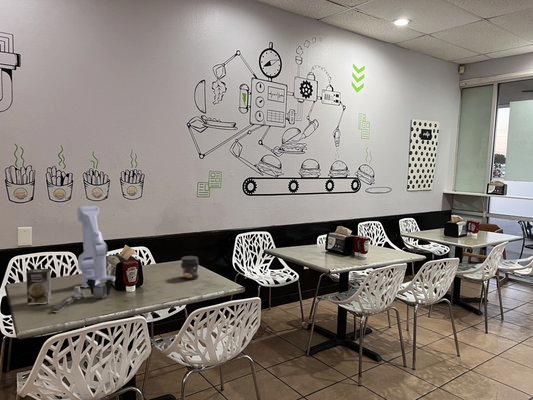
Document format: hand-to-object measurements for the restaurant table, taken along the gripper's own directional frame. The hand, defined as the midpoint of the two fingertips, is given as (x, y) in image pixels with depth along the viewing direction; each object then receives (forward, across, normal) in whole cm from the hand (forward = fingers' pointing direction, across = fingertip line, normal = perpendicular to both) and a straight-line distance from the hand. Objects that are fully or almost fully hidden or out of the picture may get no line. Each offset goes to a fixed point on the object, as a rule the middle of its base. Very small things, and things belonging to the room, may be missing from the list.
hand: (100, 294), depth 206 cm
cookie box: (+2, -25, -11) cm, 27 cm away
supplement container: (+2, +36, +37) cm, 52 cm away
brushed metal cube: (+1, 0, 0) cm, 1 cm away
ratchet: (+1, -11, -10) cm, 15 cm away
